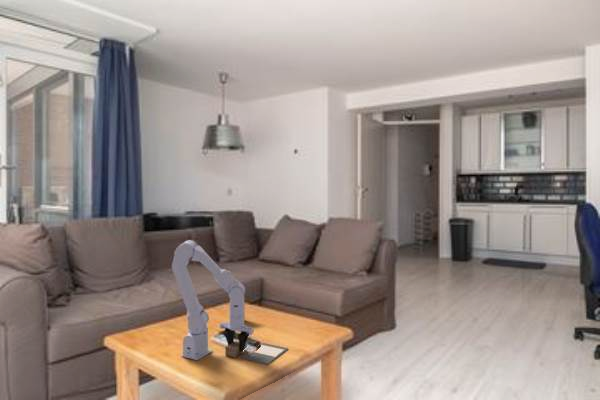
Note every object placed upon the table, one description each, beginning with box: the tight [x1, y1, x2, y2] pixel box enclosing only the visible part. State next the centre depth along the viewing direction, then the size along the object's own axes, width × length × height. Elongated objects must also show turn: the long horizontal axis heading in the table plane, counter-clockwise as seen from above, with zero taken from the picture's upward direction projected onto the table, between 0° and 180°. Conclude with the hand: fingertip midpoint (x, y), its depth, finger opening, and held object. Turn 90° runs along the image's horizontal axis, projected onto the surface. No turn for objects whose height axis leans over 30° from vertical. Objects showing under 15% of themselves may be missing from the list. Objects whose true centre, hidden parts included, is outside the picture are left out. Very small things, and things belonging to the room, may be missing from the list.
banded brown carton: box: [224, 338, 248, 359], centre depth 159 cm, size 8×4×4 cm, turn 154°
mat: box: [240, 342, 289, 366], centre depth 159 cm, size 16×12×1 cm
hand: (236, 349), depth 159 cm, fingers closed on banded brown carton, 4 cm apart
